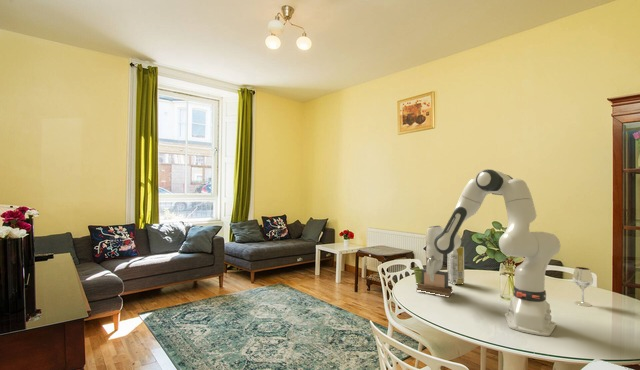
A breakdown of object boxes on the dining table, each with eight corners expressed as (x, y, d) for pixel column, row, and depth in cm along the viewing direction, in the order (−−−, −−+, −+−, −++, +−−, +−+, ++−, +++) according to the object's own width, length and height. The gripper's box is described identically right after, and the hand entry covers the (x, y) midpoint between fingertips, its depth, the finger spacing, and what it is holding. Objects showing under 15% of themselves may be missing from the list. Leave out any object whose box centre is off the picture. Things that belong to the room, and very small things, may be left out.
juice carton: (466, 285, 196) (466, 245, 196) (454, 285, 194) (454, 245, 195) (456, 280, 205) (456, 242, 205) (445, 281, 203) (445, 243, 204)
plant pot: (411, 282, 200) (411, 268, 200) (425, 282, 201) (425, 268, 201) (417, 287, 191) (417, 272, 191) (432, 286, 192) (432, 272, 192)
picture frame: (447, 291, 176) (447, 273, 176) (421, 287, 184) (421, 269, 184) (448, 290, 178) (448, 272, 179) (422, 286, 186) (422, 268, 186)
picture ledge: (448, 297, 172) (448, 290, 172) (416, 291, 182) (416, 284, 182) (452, 292, 181) (452, 285, 181) (421, 287, 190) (421, 280, 190)
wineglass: (597, 307, 159) (597, 270, 159) (578, 306, 161) (578, 269, 161) (587, 301, 167) (586, 266, 167) (569, 300, 169) (569, 266, 169)
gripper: (435, 258, 171) (435, 284, 171) (444, 252, 188) (444, 276, 188) (423, 257, 175) (423, 282, 175) (433, 251, 192) (433, 274, 192)
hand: (434, 279), depth 181 cm, fingers open, 8 cm apart
